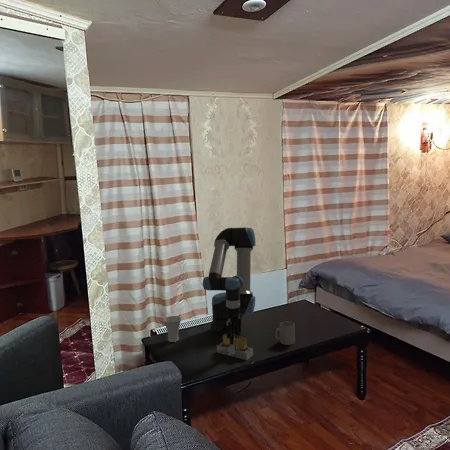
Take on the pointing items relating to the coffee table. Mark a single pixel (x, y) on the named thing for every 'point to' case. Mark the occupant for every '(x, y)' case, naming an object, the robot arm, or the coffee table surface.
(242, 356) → the bracket
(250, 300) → the robot arm
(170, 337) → the cup
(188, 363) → the coffee table surface
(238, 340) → the yellow rectangular block
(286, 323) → the mug
